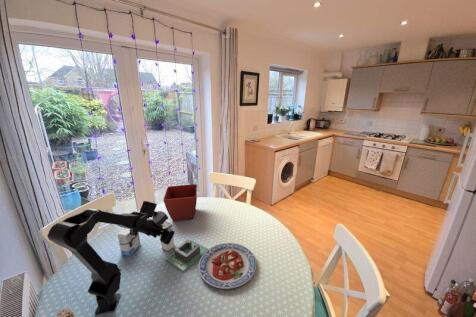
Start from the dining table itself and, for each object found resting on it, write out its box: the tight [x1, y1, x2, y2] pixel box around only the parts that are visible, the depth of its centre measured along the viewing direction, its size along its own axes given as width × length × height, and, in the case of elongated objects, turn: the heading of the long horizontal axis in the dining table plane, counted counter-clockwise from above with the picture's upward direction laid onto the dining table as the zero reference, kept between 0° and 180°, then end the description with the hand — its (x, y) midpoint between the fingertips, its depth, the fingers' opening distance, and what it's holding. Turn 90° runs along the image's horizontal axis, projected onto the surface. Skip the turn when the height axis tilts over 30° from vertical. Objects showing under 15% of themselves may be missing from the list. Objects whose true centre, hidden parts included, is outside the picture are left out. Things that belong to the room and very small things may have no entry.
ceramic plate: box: [198, 242, 257, 290], centre depth 92 cm, size 26×26×3 cm
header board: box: [165, 239, 209, 273], centre depth 98 cm, size 16×12×4 cm
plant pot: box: [163, 183, 198, 222], centre depth 130 cm, size 19×19×17 cm
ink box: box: [117, 228, 141, 256], centre depth 101 cm, size 8×5×12 cm, turn 168°
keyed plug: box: [159, 220, 176, 252], centre depth 103 cm, size 5×4×13 cm
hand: (169, 234), depth 104 cm, fingers closed on keyed plug, 4 cm apart
